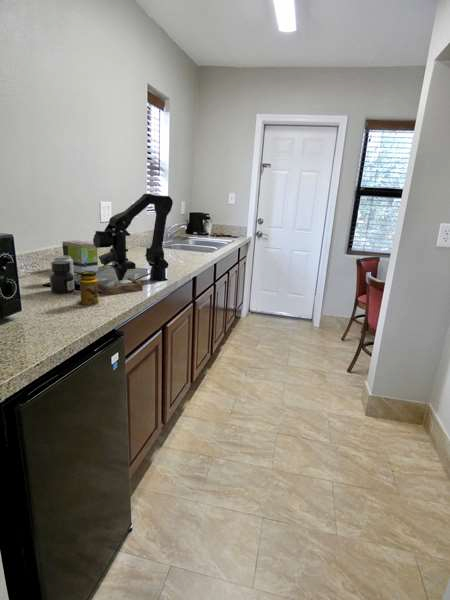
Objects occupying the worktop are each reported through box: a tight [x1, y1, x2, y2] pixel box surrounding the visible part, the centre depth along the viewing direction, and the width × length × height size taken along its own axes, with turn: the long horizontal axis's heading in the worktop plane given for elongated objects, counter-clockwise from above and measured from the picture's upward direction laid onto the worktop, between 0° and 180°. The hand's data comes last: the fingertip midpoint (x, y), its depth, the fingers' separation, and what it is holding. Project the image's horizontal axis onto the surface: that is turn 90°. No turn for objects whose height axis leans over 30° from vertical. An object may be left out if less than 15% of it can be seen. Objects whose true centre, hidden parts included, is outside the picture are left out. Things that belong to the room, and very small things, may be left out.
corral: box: [98, 277, 143, 296], centre depth 149 cm, size 16×12×3 cm
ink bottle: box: [49, 260, 76, 295], centre depth 141 cm, size 10×9×12 cm
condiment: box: [73, 271, 101, 308], centre depth 127 cm, size 7×8×12 cm
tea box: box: [62, 240, 99, 274], centre depth 178 cm, size 15×10×15 cm
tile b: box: [96, 277, 110, 285], centre depth 154 cm, size 5×5×3 cm
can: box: [53, 254, 75, 276], centre depth 153 cm, size 8×8×12 cm
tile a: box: [116, 279, 133, 286], centre depth 154 cm, size 5×5×3 cm
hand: (120, 281), depth 155 cm, fingers closed
